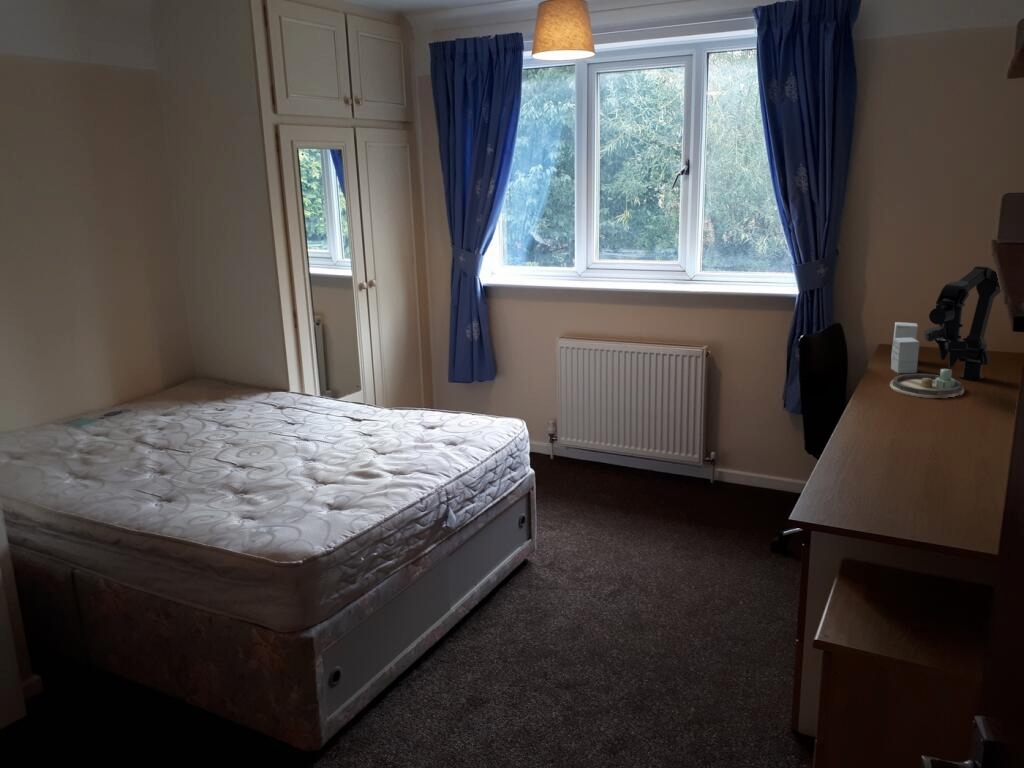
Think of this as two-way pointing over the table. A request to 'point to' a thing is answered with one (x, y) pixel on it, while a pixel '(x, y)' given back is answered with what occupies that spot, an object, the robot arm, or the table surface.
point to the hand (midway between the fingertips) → (946, 363)
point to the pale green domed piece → (945, 379)
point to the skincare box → (905, 330)
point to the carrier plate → (917, 385)
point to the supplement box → (905, 355)
